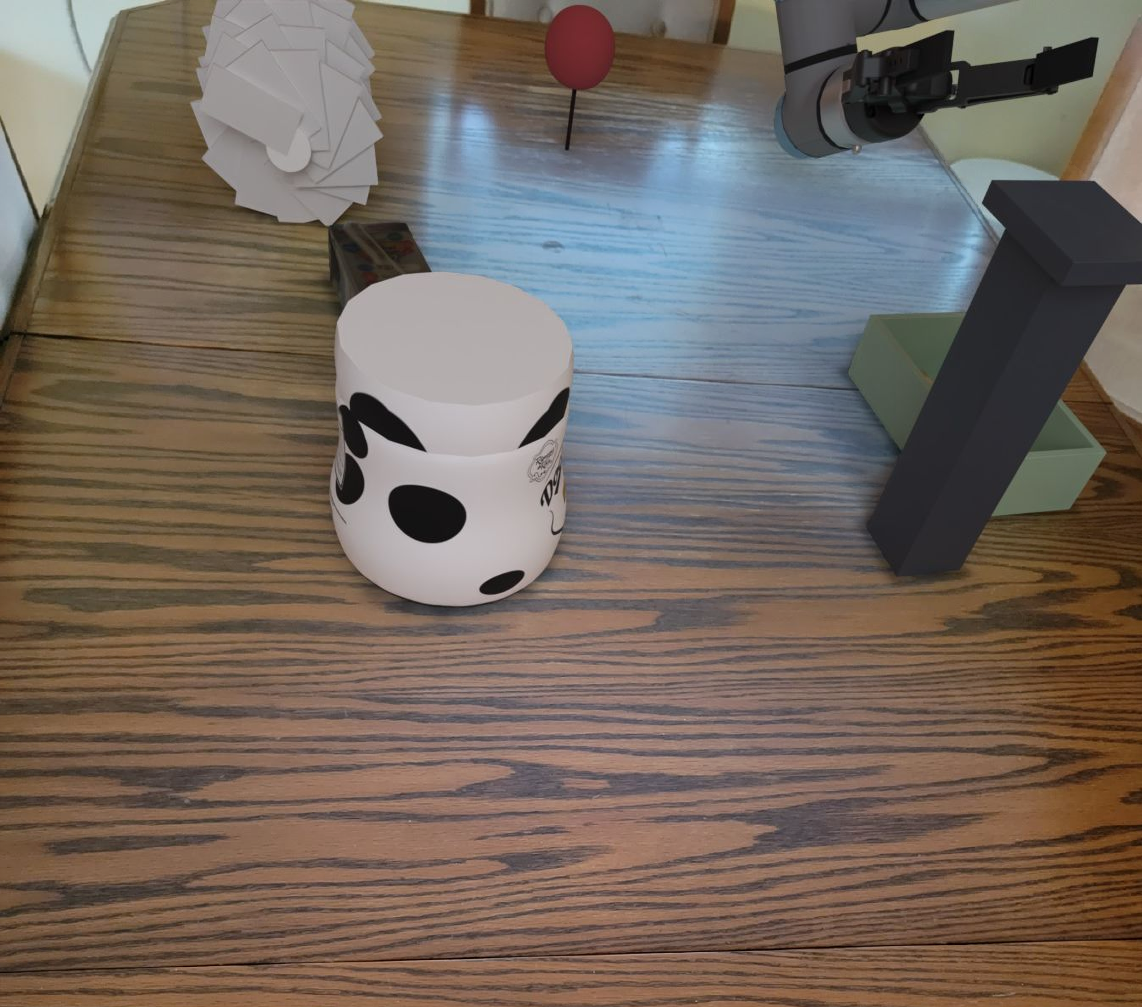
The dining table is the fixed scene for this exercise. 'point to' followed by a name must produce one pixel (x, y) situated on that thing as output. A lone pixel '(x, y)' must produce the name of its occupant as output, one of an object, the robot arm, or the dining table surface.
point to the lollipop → (579, 51)
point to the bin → (901, 389)
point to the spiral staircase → (289, 106)
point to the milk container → (450, 437)
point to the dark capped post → (1006, 365)
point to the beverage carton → (370, 256)
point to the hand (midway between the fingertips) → (1022, 53)
